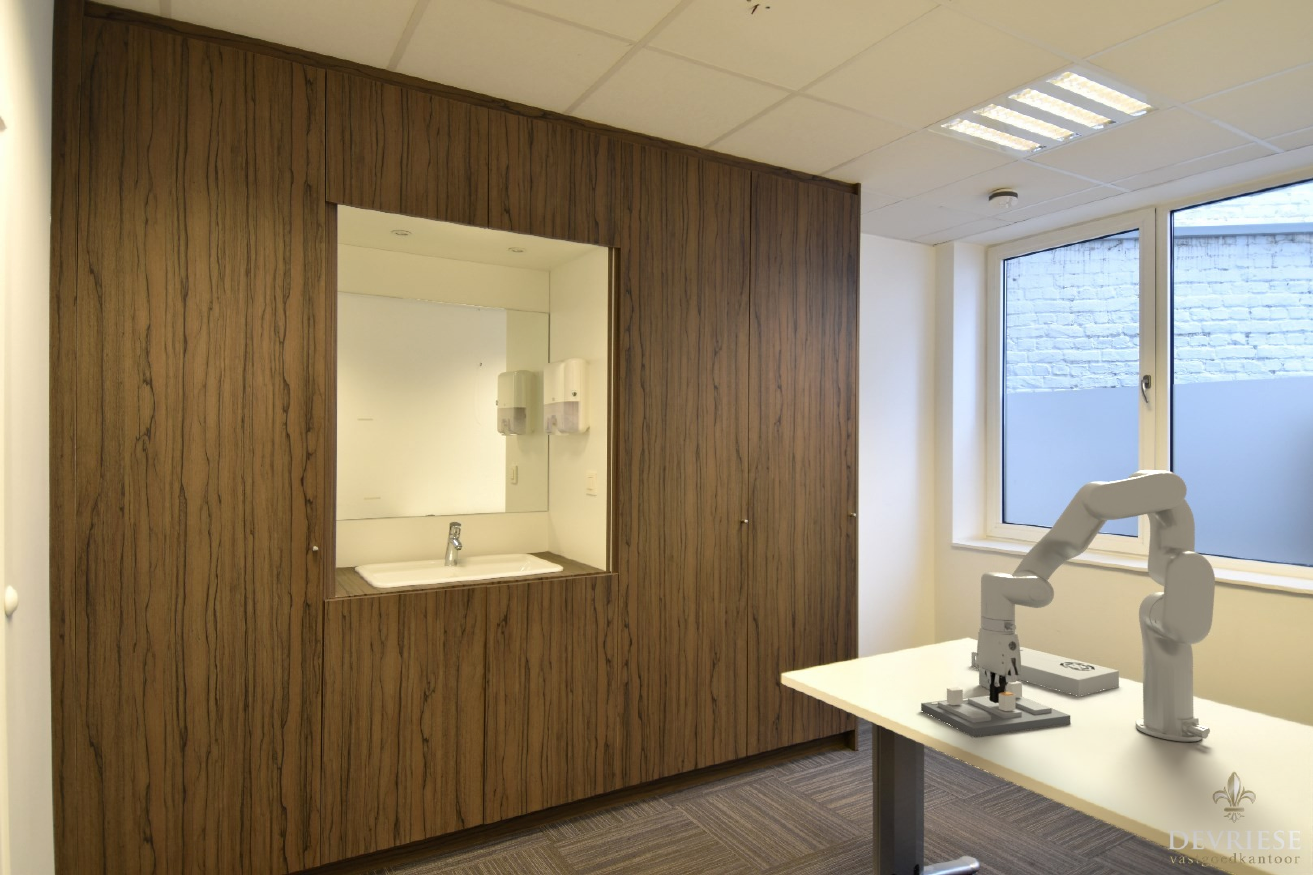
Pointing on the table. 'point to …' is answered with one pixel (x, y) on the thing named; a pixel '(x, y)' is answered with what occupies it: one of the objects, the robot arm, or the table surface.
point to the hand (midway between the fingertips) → (997, 701)
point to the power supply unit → (1063, 673)
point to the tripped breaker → (1006, 701)
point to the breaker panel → (995, 716)
